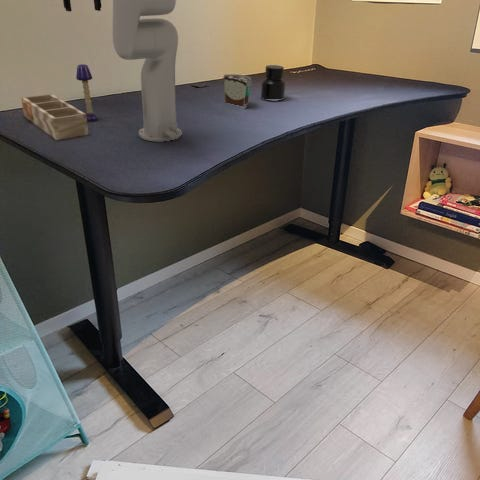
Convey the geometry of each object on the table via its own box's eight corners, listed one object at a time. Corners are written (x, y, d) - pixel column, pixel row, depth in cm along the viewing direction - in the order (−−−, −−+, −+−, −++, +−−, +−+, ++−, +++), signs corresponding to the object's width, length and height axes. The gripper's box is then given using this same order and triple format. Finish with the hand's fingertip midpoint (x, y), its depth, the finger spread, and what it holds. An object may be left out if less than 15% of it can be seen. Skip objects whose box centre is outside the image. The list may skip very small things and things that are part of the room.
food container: (257, 106, 172) (259, 78, 167) (246, 109, 168) (248, 81, 163) (233, 99, 179) (234, 72, 174) (222, 102, 175) (222, 74, 170)
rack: (88, 134, 137) (86, 114, 134) (54, 140, 132) (51, 119, 129) (54, 112, 154) (51, 93, 151) (23, 116, 149) (19, 97, 146)
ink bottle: (288, 99, 183) (291, 67, 177) (276, 103, 177) (279, 70, 171) (268, 94, 188) (270, 63, 182) (255, 98, 182) (257, 66, 176)
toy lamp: (89, 122, 147) (82, 67, 138) (78, 120, 149) (71, 65, 140) (100, 119, 150) (94, 65, 142) (90, 116, 152) (83, 62, 144)
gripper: (51, -54, 134) (61, 12, 142) (108, -51, 143) (113, 11, 152) (42, -54, 139) (52, 10, 147) (98, -51, 148) (103, 9, 157)
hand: (83, 10), depth 150 cm, fingers open, 9 cm apart
